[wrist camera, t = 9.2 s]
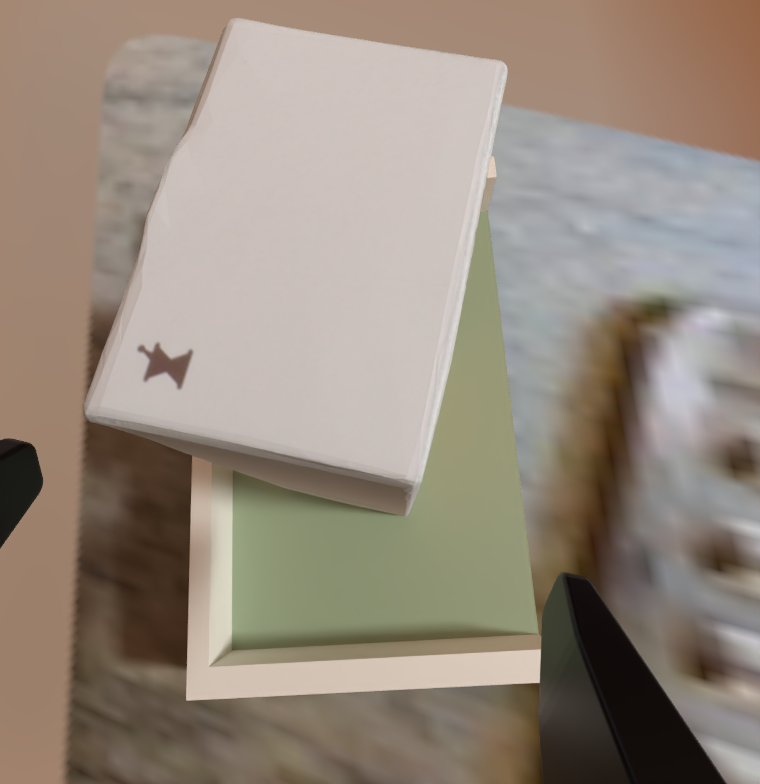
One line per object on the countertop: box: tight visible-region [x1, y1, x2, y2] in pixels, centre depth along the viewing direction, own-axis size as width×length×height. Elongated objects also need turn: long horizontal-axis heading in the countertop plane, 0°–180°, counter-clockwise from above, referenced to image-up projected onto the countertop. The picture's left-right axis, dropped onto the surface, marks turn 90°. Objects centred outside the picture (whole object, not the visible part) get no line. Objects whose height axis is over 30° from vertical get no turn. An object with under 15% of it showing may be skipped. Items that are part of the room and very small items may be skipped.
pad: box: [186, 156, 541, 701], centre depth 18 cm, size 16×10×3 cm, turn 3°
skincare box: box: [83, 18, 507, 516], centre depth 12 cm, size 6×4×12 cm
